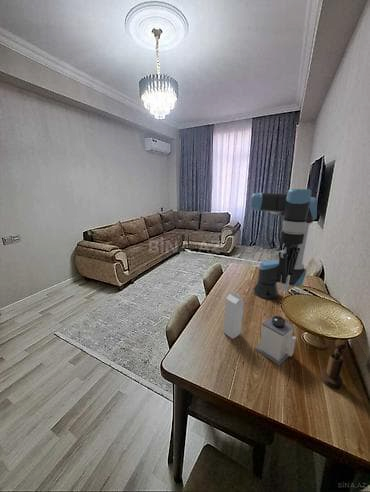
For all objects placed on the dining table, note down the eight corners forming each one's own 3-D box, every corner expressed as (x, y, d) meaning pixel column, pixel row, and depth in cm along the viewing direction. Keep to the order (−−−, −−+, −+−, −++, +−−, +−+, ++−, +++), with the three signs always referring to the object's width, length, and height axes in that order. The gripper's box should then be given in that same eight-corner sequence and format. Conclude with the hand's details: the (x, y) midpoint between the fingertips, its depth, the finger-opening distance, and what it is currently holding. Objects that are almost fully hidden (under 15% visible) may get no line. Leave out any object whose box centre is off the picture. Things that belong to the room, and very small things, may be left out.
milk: (232, 339, 99) (236, 297, 93) (222, 332, 103) (225, 292, 97) (240, 334, 102) (244, 293, 96) (231, 327, 107) (234, 288, 101)
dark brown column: (316, 373, 81) (325, 334, 76) (331, 372, 82) (342, 333, 77) (329, 389, 75) (340, 348, 70) (345, 388, 75) (358, 347, 70)
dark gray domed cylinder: (271, 340, 95) (275, 313, 91) (284, 347, 91) (288, 320, 87) (264, 346, 92) (268, 318, 88) (277, 354, 87) (282, 325, 83)
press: (268, 339, 99) (272, 313, 96) (296, 355, 90) (301, 328, 86) (255, 349, 93) (259, 323, 89) (284, 369, 83) (289, 339, 79)
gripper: (290, 228, 84) (282, 282, 91) (274, 232, 76) (266, 291, 83) (310, 231, 78) (300, 288, 85) (295, 236, 70) (285, 298, 77)
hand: (283, 289), depth 84 cm, fingers closed
